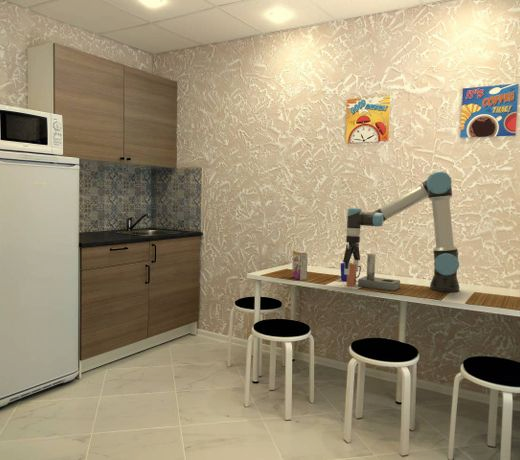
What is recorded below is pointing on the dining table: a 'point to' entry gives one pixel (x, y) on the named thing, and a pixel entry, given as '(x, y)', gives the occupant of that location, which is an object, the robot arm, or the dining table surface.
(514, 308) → the dining table surface
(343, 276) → the mug
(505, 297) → the dining table surface
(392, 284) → the gray socket post base
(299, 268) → the candy bar box
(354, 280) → the orange rectangular block
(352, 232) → the robot arm
